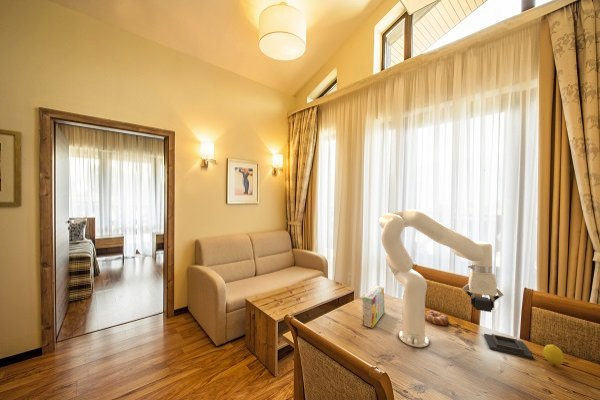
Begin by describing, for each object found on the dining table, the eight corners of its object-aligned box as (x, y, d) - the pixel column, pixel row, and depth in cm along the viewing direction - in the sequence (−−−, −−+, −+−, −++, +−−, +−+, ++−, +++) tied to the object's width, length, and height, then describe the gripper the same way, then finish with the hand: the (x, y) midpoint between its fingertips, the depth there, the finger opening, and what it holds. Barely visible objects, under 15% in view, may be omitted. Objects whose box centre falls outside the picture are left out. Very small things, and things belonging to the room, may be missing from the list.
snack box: (375, 310, 139) (375, 284, 139) (384, 312, 136) (384, 286, 136) (362, 325, 122) (362, 296, 122) (372, 328, 119) (372, 299, 119)
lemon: (566, 371, 89) (566, 350, 89) (546, 366, 92) (546, 346, 92) (560, 363, 94) (560, 343, 94) (541, 358, 97) (541, 339, 97)
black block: (491, 312, 105) (491, 302, 105) (475, 309, 108) (475, 299, 108) (488, 307, 110) (488, 297, 110) (473, 304, 113) (473, 295, 113)
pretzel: (419, 317, 131) (419, 310, 131) (433, 314, 134) (433, 307, 134) (438, 328, 119) (438, 320, 119) (453, 324, 123) (453, 317, 123)
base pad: (533, 359, 96) (533, 354, 96) (490, 349, 102) (490, 344, 102) (522, 343, 106) (522, 339, 106) (484, 335, 113) (484, 330, 113)
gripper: (460, 268, 110) (461, 307, 109) (508, 273, 102) (508, 315, 101) (458, 264, 116) (458, 301, 116) (503, 269, 108) (503, 308, 108)
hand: (482, 307), depth 109 cm, fingers closed on black block, 5 cm apart
